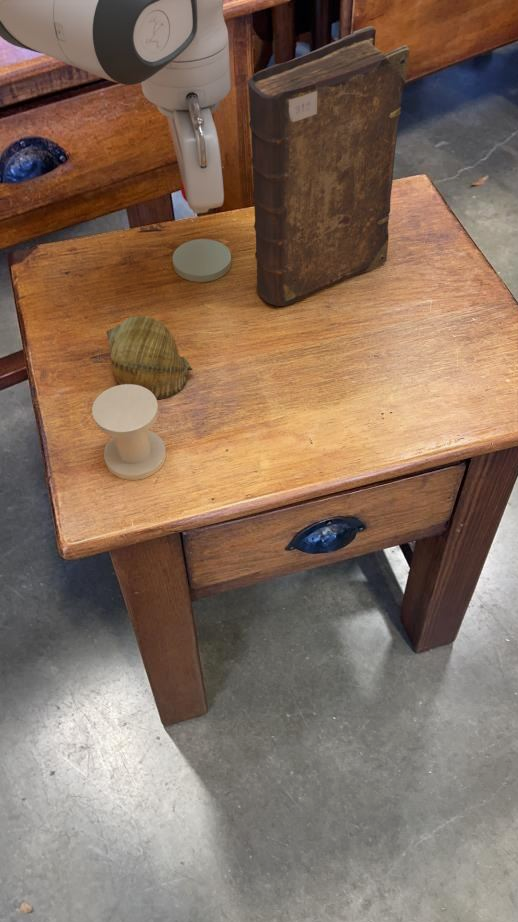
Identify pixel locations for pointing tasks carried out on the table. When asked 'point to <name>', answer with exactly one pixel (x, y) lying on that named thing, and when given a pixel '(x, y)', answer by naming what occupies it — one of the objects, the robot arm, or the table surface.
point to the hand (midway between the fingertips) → (197, 197)
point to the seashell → (147, 356)
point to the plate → (202, 260)
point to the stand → (129, 431)
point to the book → (324, 164)
